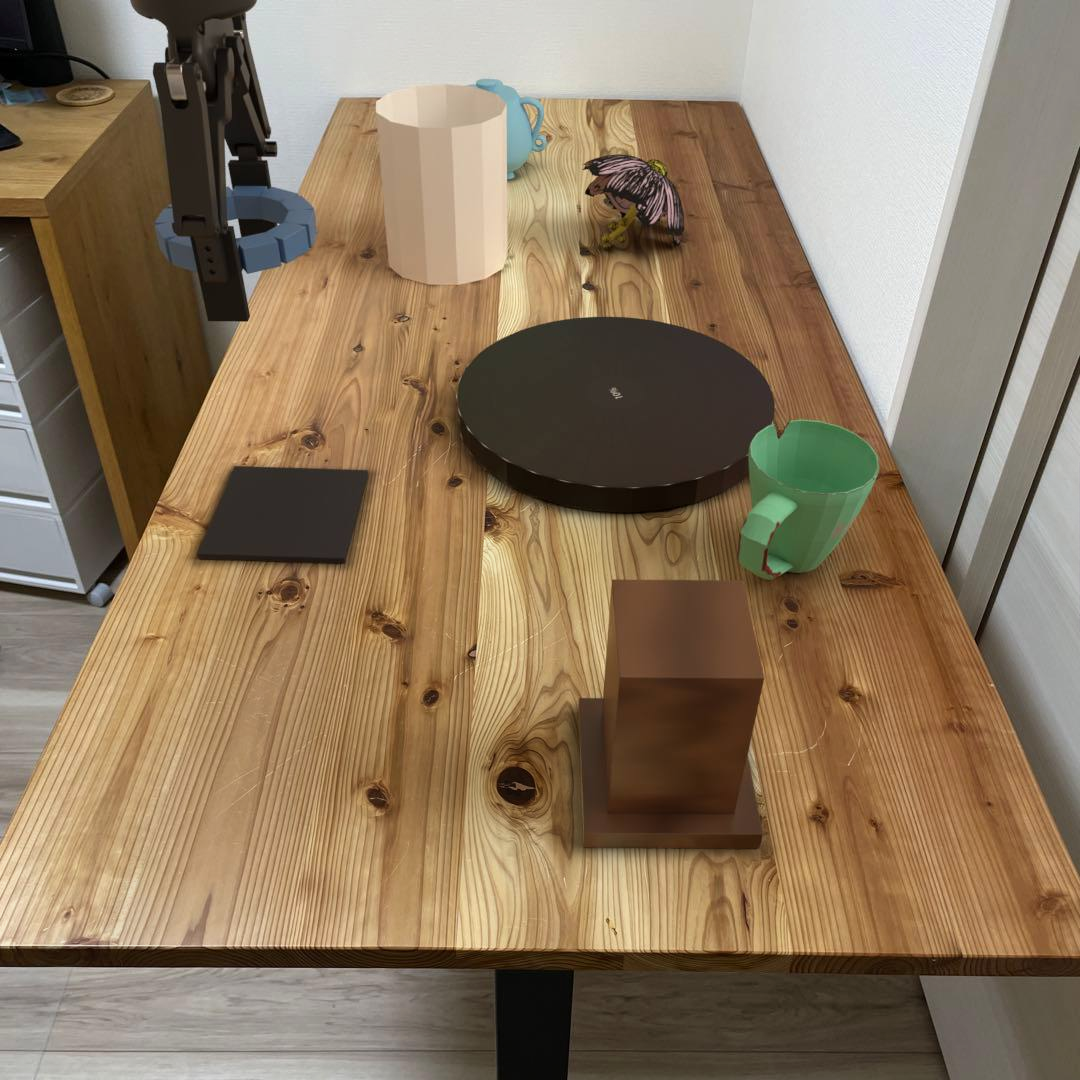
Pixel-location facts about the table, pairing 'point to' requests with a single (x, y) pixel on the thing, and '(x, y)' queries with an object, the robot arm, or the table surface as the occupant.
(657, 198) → the decorative flower
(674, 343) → the disc
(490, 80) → the teapot
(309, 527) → the mat
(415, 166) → the container
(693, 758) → the stand
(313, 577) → the table surface
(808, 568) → the mug
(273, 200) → the ring
